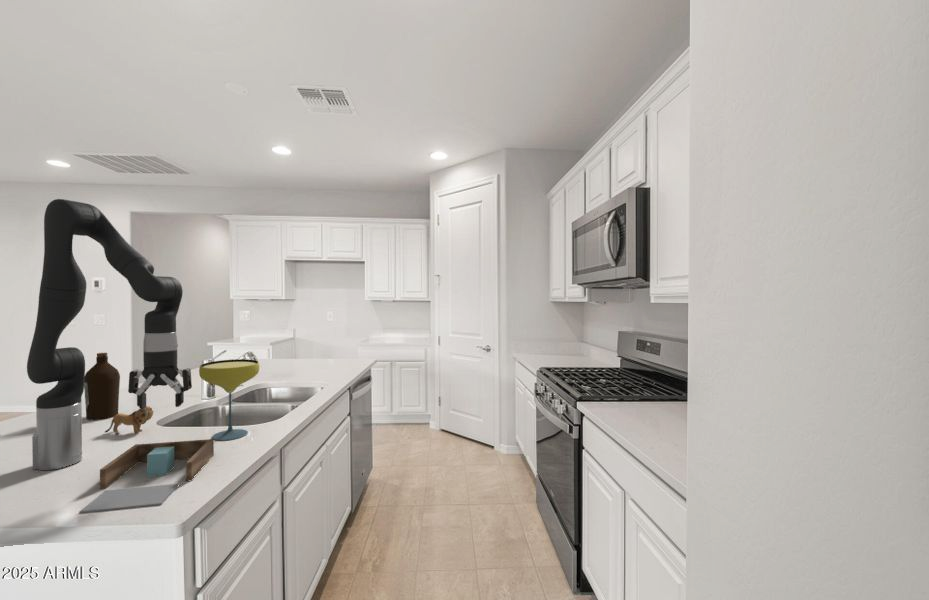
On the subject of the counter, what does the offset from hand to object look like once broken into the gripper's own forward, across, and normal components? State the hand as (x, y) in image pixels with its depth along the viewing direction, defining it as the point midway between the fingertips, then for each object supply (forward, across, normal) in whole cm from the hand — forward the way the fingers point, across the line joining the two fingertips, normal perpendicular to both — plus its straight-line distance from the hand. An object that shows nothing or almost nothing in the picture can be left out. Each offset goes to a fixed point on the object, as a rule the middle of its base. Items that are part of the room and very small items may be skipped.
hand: (160, 406), depth 114 cm
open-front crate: (+18, 0, 0) cm, 18 cm away
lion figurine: (+18, -24, +38) cm, 49 cm away
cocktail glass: (+18, +10, +27) cm, 34 cm away
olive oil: (+18, -44, +60) cm, 77 cm away
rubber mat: (+18, 0, -15) cm, 24 cm away
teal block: (+18, 0, 0) cm, 18 cm away
